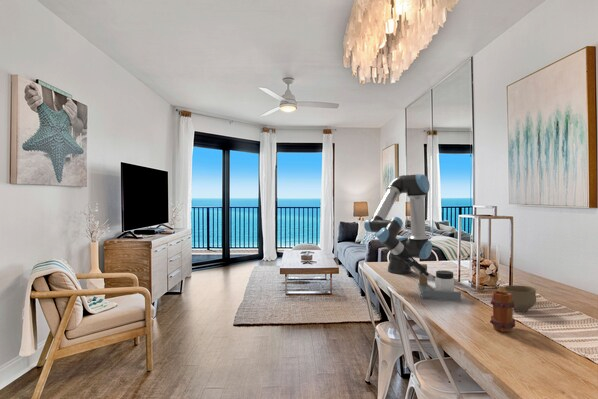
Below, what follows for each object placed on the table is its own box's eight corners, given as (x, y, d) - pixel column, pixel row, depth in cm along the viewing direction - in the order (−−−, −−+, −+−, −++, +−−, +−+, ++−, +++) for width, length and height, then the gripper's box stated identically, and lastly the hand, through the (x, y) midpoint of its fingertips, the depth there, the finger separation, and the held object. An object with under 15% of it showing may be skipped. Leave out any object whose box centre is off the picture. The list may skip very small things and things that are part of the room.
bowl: (506, 303, 156) (506, 282, 155) (539, 309, 146) (539, 287, 146) (498, 310, 147) (498, 287, 147) (533, 317, 138) (532, 293, 138)
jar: (449, 299, 163) (449, 275, 163) (433, 295, 169) (432, 272, 169) (456, 295, 170) (456, 271, 170) (440, 292, 176) (440, 269, 175)
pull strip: (418, 284, 190) (417, 263, 190) (451, 286, 185) (451, 264, 185) (422, 298, 165) (422, 274, 165) (460, 301, 160) (460, 275, 160)
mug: (515, 336, 120) (515, 295, 119) (489, 332, 124) (489, 292, 124) (515, 323, 132) (514, 285, 132) (491, 319, 136) (490, 283, 136)
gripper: (387, 251, 198) (412, 275, 199) (403, 259, 173) (431, 287, 175) (395, 242, 199) (420, 266, 200) (413, 249, 174) (441, 276, 175)
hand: (425, 276), depth 187 cm, fingers open, 13 cm apart
